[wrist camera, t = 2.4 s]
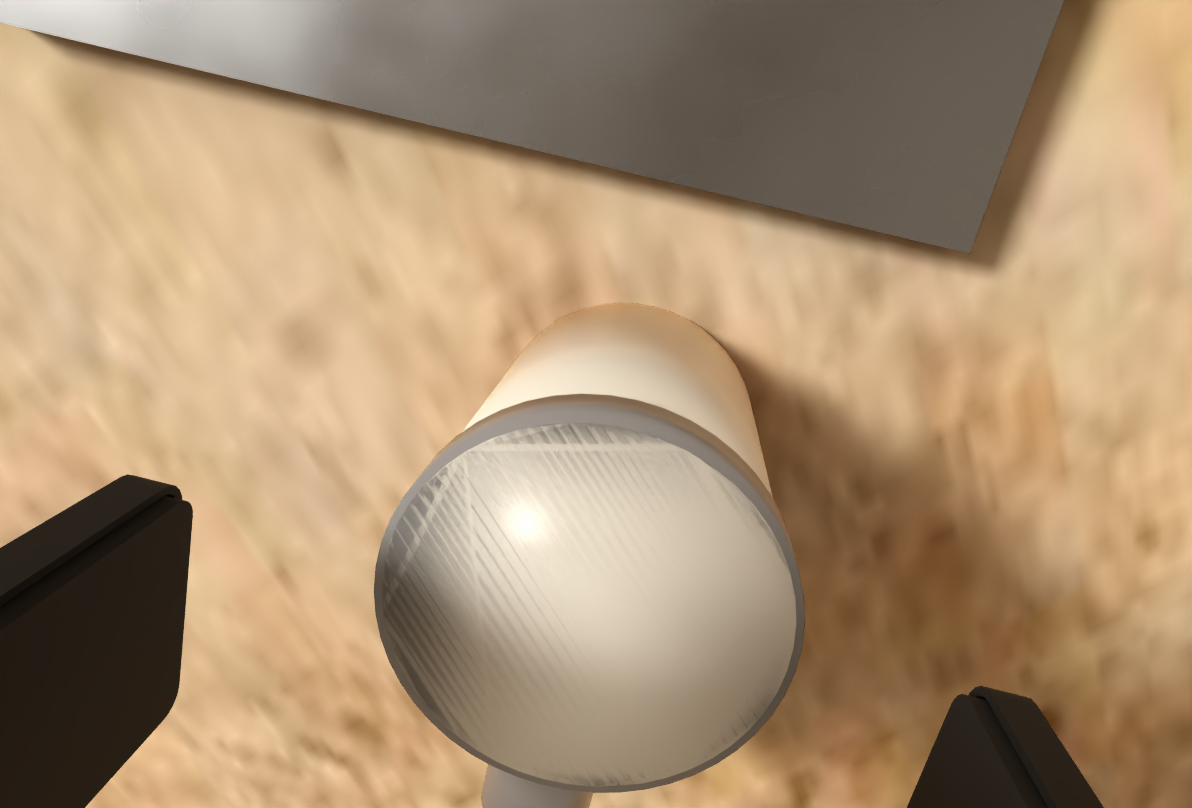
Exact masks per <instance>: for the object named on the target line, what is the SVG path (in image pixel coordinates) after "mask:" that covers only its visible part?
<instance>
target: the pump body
mask: <svg viewBox="0 0 1192 808" xmlns="http://www.w3.org/2000/svg"><path fill="white" fill-rule="evenodd" d="M374 598H375V612H376V618H377V623H378V628H379V632H380V637H381V640H382V643H383V646H384V648H385V651H386V654H387V657H388V659H389V662H390V664H391V666H392V668H393V669H394V671H395V673H396V675H397V677H398V679H399V681H400V683H401V684H402V686H403V687H404V689H405V690H406V692H407V693H408V694H409V696H410V697H411V699H412V700H413V702H414V703H415V704H416V705H417V707H418V708H419V709H420V710H421V711H422V712H423V713H424V715H425V716H426V717H427V718H428V719H429V720H430V721H431V722H432V723H433V724H434V725H435V726H436V727H437V728H438V729H439V730H441V731H442V732H443V733H444V734H445V735H446V736H447V737H448V738H449V739H451V740H452V741H453V742H455V743H456V744H458V745H459V746H460V747H462V748H463V749H465V750H466V751H467V752H469V753H470V754H472V755H474V756H475V757H477V758H479V759H481V760H482V761H484V762H486V763H488V767H487V771H486V775H485V780H484V784H483V789H482V796H481V800H482V806H483V808H589V806H590V802H591V799H592V795H593V793H606V792H627V791H636V790H644V789H649V788H653V787H658V786H662V785H666V784H670V783H673V782H676V781H679V780H682V779H684V778H687V777H690V776H693V775H695V774H697V773H699V772H701V771H703V770H705V769H707V768H709V767H711V766H713V765H715V764H717V763H718V762H720V761H722V760H723V759H725V758H726V757H728V756H729V755H731V754H732V753H734V752H735V751H737V750H738V749H739V748H740V747H741V746H742V745H744V744H745V743H746V742H747V741H748V740H749V739H750V738H752V737H753V736H754V735H755V734H756V733H757V732H758V731H759V729H760V728H761V727H762V726H763V725H764V724H765V723H766V721H767V720H768V719H769V718H770V717H771V716H772V714H773V713H774V711H775V710H776V708H777V707H778V705H779V703H780V702H781V700H782V699H783V697H784V696H785V694H786V692H787V689H788V687H789V685H790V683H791V681H792V678H793V676H794V674H795V671H796V668H797V664H798V660H799V657H800V653H801V650H802V643H803V635H804V626H805V616H804V596H803V591H802V586H801V580H800V575H799V571H798V567H797V563H796V559H795V555H794V551H793V547H792V543H791V540H790V537H789V534H788V531H787V528H786V525H785V522H784V519H783V517H782V515H781V513H780V511H779V509H778V507H777V505H776V503H775V501H774V499H773V497H772V492H771V488H770V484H769V480H768V475H767V471H766V467H765V463H764V458H763V454H762V450H761V445H760V441H759V437H758V433H757V428H756V424H755V420H754V415H753V411H752V407H751V403H750V398H749V395H748V392H747V389H746V386H745V383H744V380H743V378H742V376H741V374H740V372H739V370H738V369H737V367H736V365H735V363H734V362H733V361H732V359H731V358H730V356H729V355H728V353H727V352H726V351H725V350H724V349H723V348H722V347H721V345H720V344H719V343H718V342H717V341H716V340H715V339H714V338H713V337H711V336H710V335H709V334H708V333H707V332H705V331H704V330H703V329H702V328H700V327H699V326H697V325H696V324H694V323H692V322H691V321H689V320H688V319H686V318H683V317H681V316H679V315H677V314H675V313H673V312H670V311H667V310H664V309H660V308H657V307H654V306H648V305H642V304H634V303H613V304H602V305H598V306H593V307H589V308H585V309H582V310H579V311H577V312H574V313H571V314H569V315H567V316H565V317H563V318H561V319H559V320H557V321H555V322H554V323H553V324H551V325H550V326H548V327H547V328H546V329H544V330H543V331H541V332H540V333H539V334H538V335H537V336H536V337H535V338H534V339H533V340H532V341H531V342H530V343H529V344H528V345H527V346H526V348H525V349H524V350H523V351H522V353H521V354H520V355H519V357H518V358H517V359H516V361H515V362H514V363H513V365H512V366H511V367H510V369H509V370H508V371H507V373H506V374H505V375H504V377H503V378H502V379H501V381H500V382H499V383H498V385H497V386H496V387H495V389H494V390H493V391H492V393H491V394H490V395H489V397H488V398H487V399H486V401H485V402H484V403H483V405H482V406H481V408H480V409H479V410H478V412H477V413H476V414H475V416H474V417H473V418H472V420H471V421H470V422H469V424H468V425H467V426H466V428H465V429H464V430H463V432H462V433H460V434H459V435H457V436H456V437H455V438H454V439H453V440H452V441H451V442H450V443H448V444H447V445H446V446H445V447H444V448H443V449H442V450H441V451H440V452H439V453H438V454H437V455H436V456H435V458H434V459H433V460H432V461H431V463H430V464H429V465H428V466H427V467H426V469H425V470H424V471H423V472H422V474H421V475H420V476H419V478H418V479H417V480H416V482H415V483H414V484H413V485H412V487H411V488H410V489H409V491H408V492H407V493H406V494H405V496H404V497H403V499H402V500H401V502H400V504H399V505H398V507H397V509H396V511H395V512H394V514H393V516H392V517H391V519H390V521H389V524H388V527H387V529H386V532H385V534H384V537H383V539H382V542H381V546H380V550H379V554H378V559H377V563H376V570H375V583H374Z"/></svg>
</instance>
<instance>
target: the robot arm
mask: <svg viewBox="0 0 1192 808" xmlns="http://www.w3.org/2000/svg"><path fill="white" fill-rule="evenodd" d="M192 518H193V510H192V506H191V504H190V503H189V502H188V501H184V500H182V495H181V492H180V490H179V489H178V488H177V487H176V486H174V485H170V484H166V483H162V482H158V481H154V480H150V479H146V478H142V477H138V476H133V475H125V476H122V477H120V478H118V479H117V480H115V481H113V482H112V483H110V484H108V485H106V486H105V487H103V488H101V489H100V490H98V491H96V492H95V493H93V494H91V495H89V496H88V497H86V498H84V499H83V500H81V501H79V502H78V503H76V504H74V505H72V506H71V507H69V508H67V509H66V510H64V511H62V512H61V513H59V514H57V515H56V516H54V517H52V518H50V519H49V520H47V521H45V522H44V523H42V524H40V525H39V526H37V527H35V528H33V529H32V530H30V531H28V532H27V533H25V534H23V535H22V536H20V537H18V538H16V539H15V540H13V541H11V542H10V543H8V544H6V545H5V546H3V547H1V548H0V808H85V807H86V806H87V805H88V803H89V802H90V801H91V800H92V799H93V798H94V797H95V796H96V795H97V793H98V792H99V791H100V790H101V789H102V788H103V787H104V786H105V785H106V783H107V782H108V781H109V780H110V779H111V778H112V777H113V776H114V774H115V773H116V772H117V771H118V770H119V769H120V768H121V767H122V766H123V764H124V763H125V762H126V761H127V760H128V759H129V758H130V757H131V756H132V754H133V753H134V752H135V751H136V750H137V749H138V748H139V747H140V746H141V744H142V743H143V742H144V741H145V740H146V739H147V738H148V737H149V736H150V734H151V733H152V732H153V731H154V730H155V729H156V728H157V727H158V725H159V724H160V723H161V722H162V721H163V720H164V719H165V717H166V716H167V715H168V713H169V711H170V710H171V708H172V706H173V704H174V702H175V699H176V696H177V693H178V689H179V681H180V669H181V656H182V644H183V631H184V618H185V606H186V593H187V581H188V568H189V555H190V543H191V530H192ZM907 808H1104V807H1103V806H1102V804H1101V803H1100V801H1099V800H1098V798H1097V797H1096V795H1095V793H1094V792H1093V790H1092V789H1091V787H1090V786H1089V784H1088V783H1087V781H1086V780H1085V778H1084V777H1083V775H1082V774H1081V772H1080V770H1079V769H1078V767H1077V766H1076V764H1075V763H1074V761H1073V760H1072V758H1071V757H1070V755H1069V754H1068V752H1067V751H1066V749H1065V748H1064V746H1063V744H1062V743H1061V741H1060V740H1059V738H1058V737H1057V735H1056V734H1055V732H1054V731H1053V729H1052V728H1051V726H1050V725H1049V723H1048V722H1047V720H1046V718H1045V717H1044V715H1043V714H1042V712H1041V711H1040V709H1039V708H1038V706H1037V705H1036V704H1035V703H1034V702H1033V700H1032V699H1030V698H1027V697H1023V696H1019V695H1015V694H1011V693H1007V692H1003V691H999V690H995V689H991V688H987V687H983V686H979V687H975V688H974V689H973V690H972V691H971V692H970V693H969V695H964V694H961V695H958V696H957V697H956V698H955V699H954V701H953V702H952V704H951V706H950V709H949V711H948V713H947V715H946V718H945V720H944V722H943V725H942V727H941V729H940V732H939V734H938V736H937V739H936V741H935V743H934V746H933V748H932V750H931V753H930V755H929V757H928V760H927V762H926V764H925V767H924V769H923V771H922V774H921V776H920V778H919V781H918V783H917V785H916V787H915V790H914V792H913V794H912V797H911V799H910V801H909V804H908V806H907Z"/></svg>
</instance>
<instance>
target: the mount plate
mask: <svg viewBox="0 0 1192 808" xmlns="http://www.w3.org/2000/svg"><path fill="white" fill-rule="evenodd" d="M1063 2H1064V0H0V23H3V24H8V25H12V26H16V27H20V28H24V29H29V30H33V31H37V32H41V33H45V34H50V35H54V36H58V37H62V38H66V39H71V40H75V41H79V42H83V43H87V44H92V45H96V46H100V47H104V48H108V49H113V50H117V51H121V52H125V53H129V54H133V55H138V56H142V57H146V58H150V59H154V60H159V61H163V62H167V63H171V64H175V65H180V66H184V67H188V68H192V69H196V70H201V71H205V72H209V73H213V74H217V75H222V76H226V77H230V78H234V79H238V80H243V81H247V82H251V83H255V84H259V85H264V86H268V87H272V88H276V89H280V90H285V91H289V92H293V93H297V94H301V95H306V96H310V97H314V98H318V99H322V100H327V101H331V102H335V103H339V104H343V105H348V106H352V107H356V108H360V109H364V110H369V111H373V112H377V113H381V114H385V115H390V116H394V117H398V118H402V119H406V120H411V121H415V122H419V123H423V124H427V125H432V126H436V127H440V128H444V129H448V130H453V131H457V132H461V133H465V134H469V135H474V136H478V137H482V138H486V139H490V140H495V141H499V142H503V143H507V144H511V145H516V146H520V147H524V148H528V149H532V150H536V151H541V152H545V153H549V154H553V155H557V156H562V157H566V158H570V159H574V160H578V161H583V162H587V163H591V164H595V165H599V166H604V167H608V168H612V169H616V170H620V171H625V172H629V173H633V174H637V175H641V176H646V177H650V178H654V179H658V180H662V181H667V182H671V183H675V184H679V185H683V186H688V187H692V188H696V189H700V190H704V191H709V192H713V193H717V194H721V195H725V196H730V197H734V198H738V199H742V200H746V201H751V202H755V203H759V204H763V205H767V206H772V207H776V208H780V209H784V210H788V211H793V212H797V213H801V214H805V215H809V216H814V217H818V218H822V219H826V220H830V221H835V222H839V223H843V224H847V225H851V226H856V227H860V228H864V229H868V230H872V231H877V232H881V233H885V234H889V235H893V236H898V237H902V238H906V239H910V240H914V241H919V242H923V243H927V244H931V245H935V246H939V247H944V248H948V249H952V250H956V251H960V252H965V253H969V254H970V251H971V248H972V246H973V243H974V240H975V238H976V235H977V232H978V230H979V227H980V224H981V222H982V219H983V216H984V214H985V211H986V208H987V206H988V203H989V200H990V198H991V195H992V192H993V189H994V187H995V184H996V181H997V179H998V176H999V173H1000V171H1001V168H1002V165H1003V163H1004V160H1005V157H1006V155H1007V152H1008V149H1009V147H1010V144H1011V141H1012V139H1013V136H1014V133H1015V131H1016V128H1017V125H1018V123H1019V120H1020V117H1021V115H1022V112H1023V109H1024V107H1025V104H1026V101H1027V98H1028V96H1029V93H1030V90H1031V88H1032V85H1033V82H1034V80H1035V77H1036V74H1037V72H1038V69H1039V66H1040V64H1041V61H1042V58H1043V56H1044V53H1045V50H1046V48H1047V45H1048V42H1049V40H1050V37H1051V34H1052V32H1053V29H1054V26H1055V24H1056V21H1057V18H1058V16H1059V13H1060V10H1061V8H1062V5H1063Z"/></svg>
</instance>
